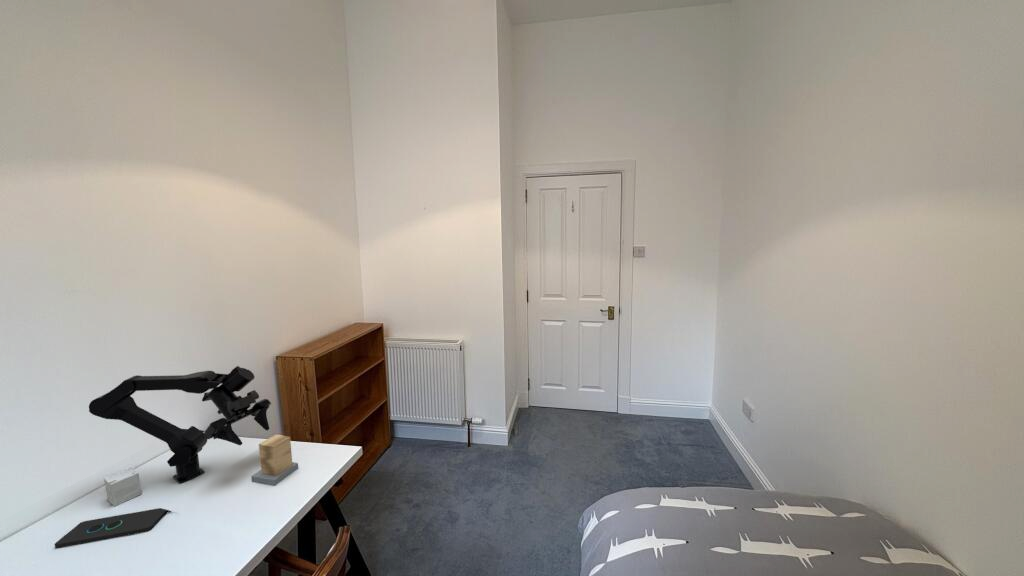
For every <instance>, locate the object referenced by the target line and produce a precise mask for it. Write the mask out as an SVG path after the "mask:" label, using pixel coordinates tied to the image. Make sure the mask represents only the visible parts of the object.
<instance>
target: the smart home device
mask: <svg viewBox="0 0 1024 576" xmlns="http://www.w3.org/2000/svg"><path fill="white" fill-rule="evenodd" d="M169 512H170V510H169V509H165V508H161V507H159V508H154V509H146V510H142V511H136V512H131V513H124V514H119V515H112V516H106V517H102V518H101V517H100V518H95V519H90V520H89V519H88V520H84V521H81V522H79V523H78V524H77V525H76V526H74V527H73V528H72V529H71V530H70V531H68V532H67V533H66V534H65V535H64V536H62V537H61V538H60V539H58V540H57V541H56V542H55V543H54V548H55V549H62V548H67V547H73V546H78V545H84V544H89V543H94V542H95V543H96V542H101V541H104V540H109V539H115V538H116V539H117V538H121V537H126V536H132V535H139V534H143V533H148V532H151V531H152V530H153V529H154V528H155V527H156V526H157V525H158V523H159V522H160V521H162V519H163V518H164V517H165V516H166V515H167V514H168V513H169Z"/></svg>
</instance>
